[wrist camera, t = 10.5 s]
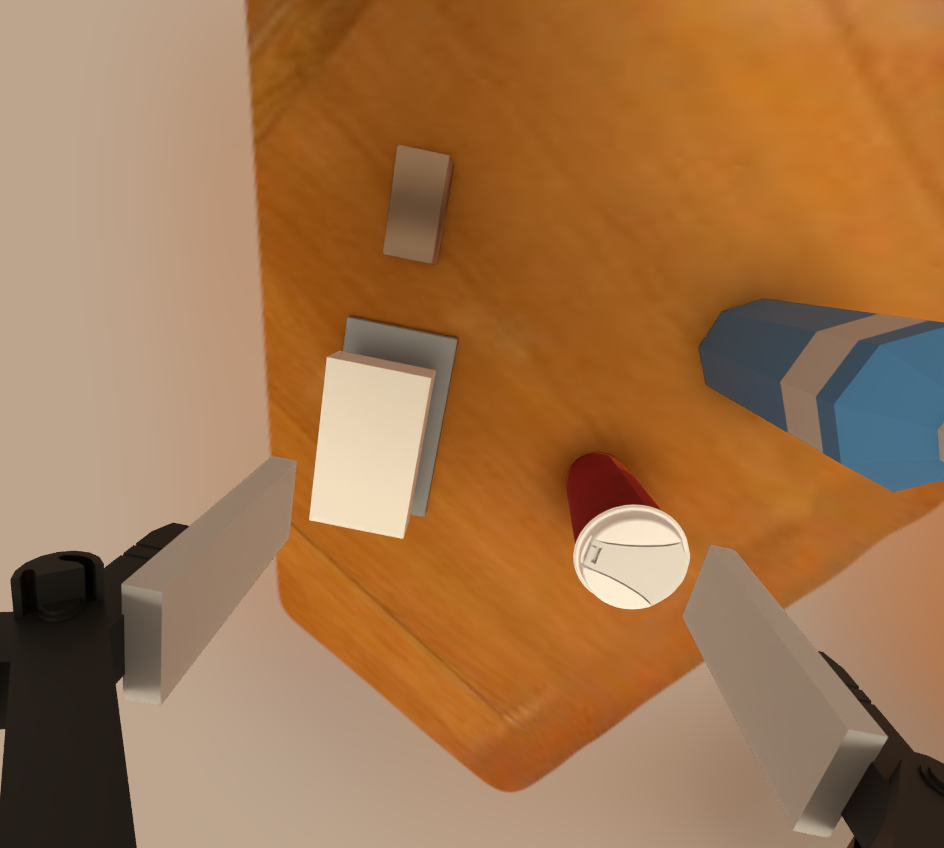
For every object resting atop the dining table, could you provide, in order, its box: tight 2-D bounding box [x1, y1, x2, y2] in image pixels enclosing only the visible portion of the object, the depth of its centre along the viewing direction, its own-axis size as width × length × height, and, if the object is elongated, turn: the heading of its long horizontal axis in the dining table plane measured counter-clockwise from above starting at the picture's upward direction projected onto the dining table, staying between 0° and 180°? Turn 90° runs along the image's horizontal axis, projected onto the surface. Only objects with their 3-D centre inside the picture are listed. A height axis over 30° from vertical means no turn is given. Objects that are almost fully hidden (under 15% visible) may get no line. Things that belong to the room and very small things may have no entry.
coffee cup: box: [566, 453, 690, 609], centre depth 43 cm, size 8×8×15 cm
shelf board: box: [309, 351, 436, 539], centre depth 42 cm, size 14×8×3 cm, turn 169°
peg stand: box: [343, 316, 458, 517], centre depth 47 cm, size 18×10×6 cm, turn 169°
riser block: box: [383, 145, 454, 264], centre depth 42 cm, size 8×4×4 cm, turn 169°
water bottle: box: [699, 299, 944, 492], centre depth 34 cm, size 9×9×25 cm
